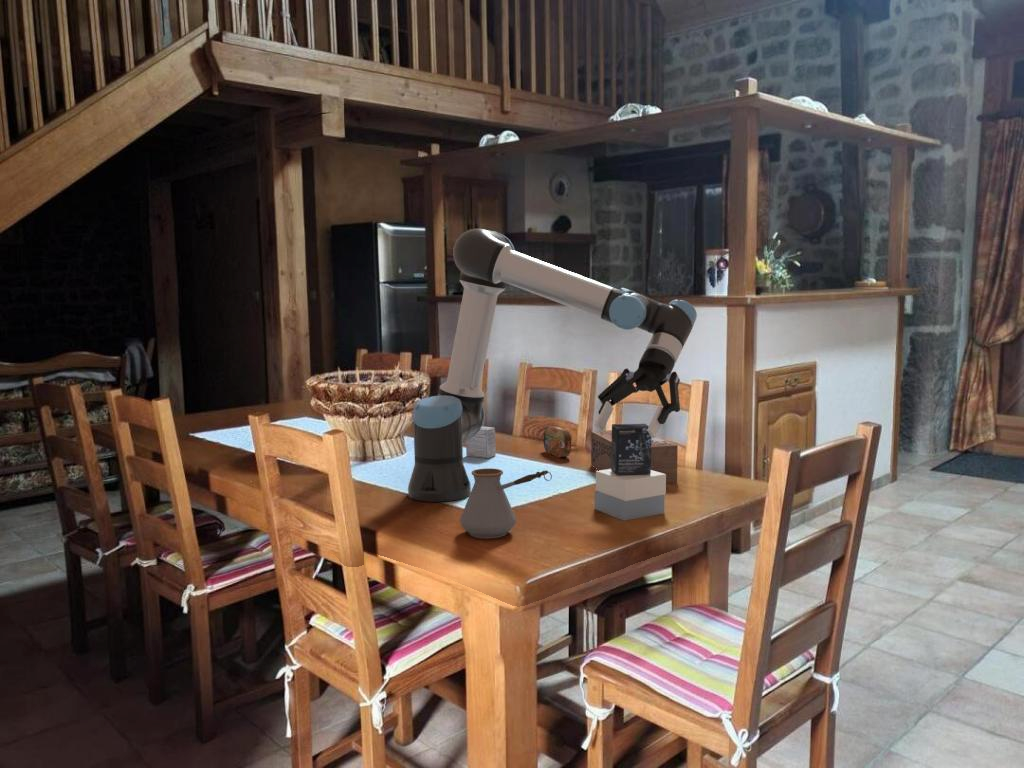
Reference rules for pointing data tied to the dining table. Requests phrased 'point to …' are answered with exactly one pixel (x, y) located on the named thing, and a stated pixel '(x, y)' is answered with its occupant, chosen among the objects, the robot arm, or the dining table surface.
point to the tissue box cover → (660, 454)
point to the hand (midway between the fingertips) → (624, 431)
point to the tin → (557, 441)
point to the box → (630, 449)
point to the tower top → (630, 484)
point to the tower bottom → (629, 506)
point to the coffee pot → (491, 504)
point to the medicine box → (482, 443)
